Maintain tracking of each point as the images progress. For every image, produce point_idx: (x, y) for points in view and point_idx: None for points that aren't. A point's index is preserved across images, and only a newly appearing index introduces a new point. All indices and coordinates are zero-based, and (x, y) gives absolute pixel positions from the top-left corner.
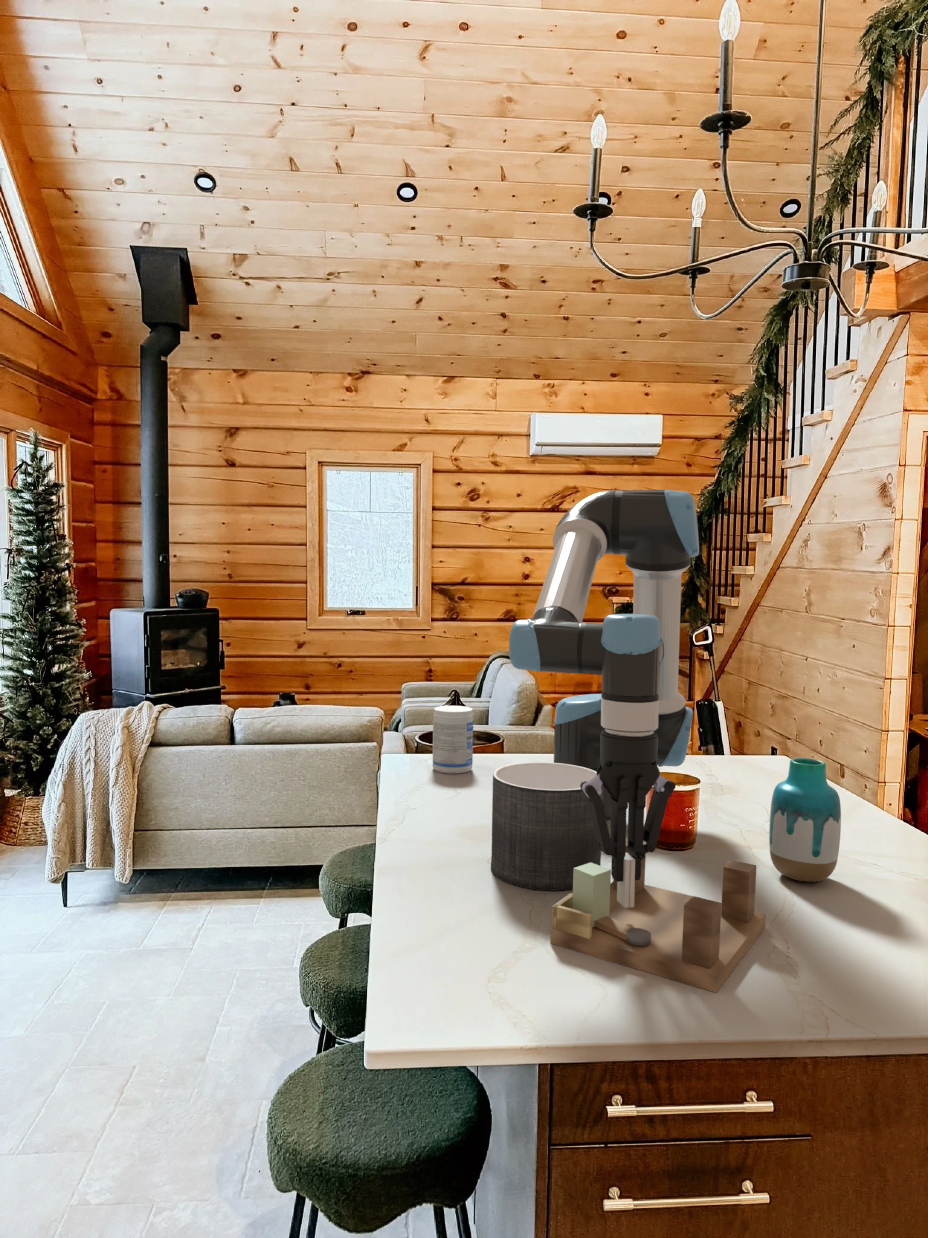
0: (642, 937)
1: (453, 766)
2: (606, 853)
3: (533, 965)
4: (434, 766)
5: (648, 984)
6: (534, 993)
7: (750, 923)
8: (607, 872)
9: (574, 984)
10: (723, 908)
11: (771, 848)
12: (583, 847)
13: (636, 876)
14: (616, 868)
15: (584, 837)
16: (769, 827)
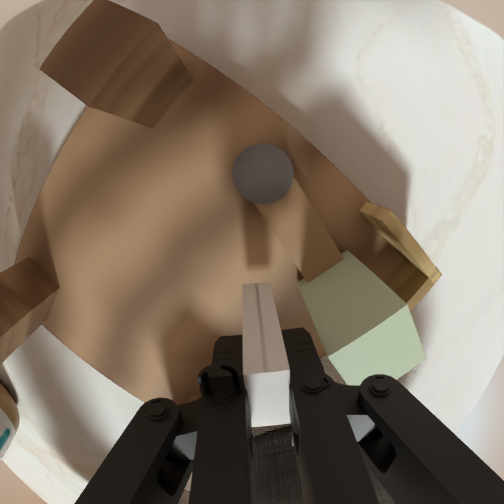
0: (261, 148)
1: None
2: (386, 378)
3: (444, 173)
4: None
5: (274, 69)
6: (452, 92)
7: (25, 255)
8: (342, 344)
9: (401, 96)
10: (48, 292)
11: (9, 425)
12: (275, 484)
13: (230, 343)
14: (313, 355)
15: (275, 499)
16: (5, 446)
